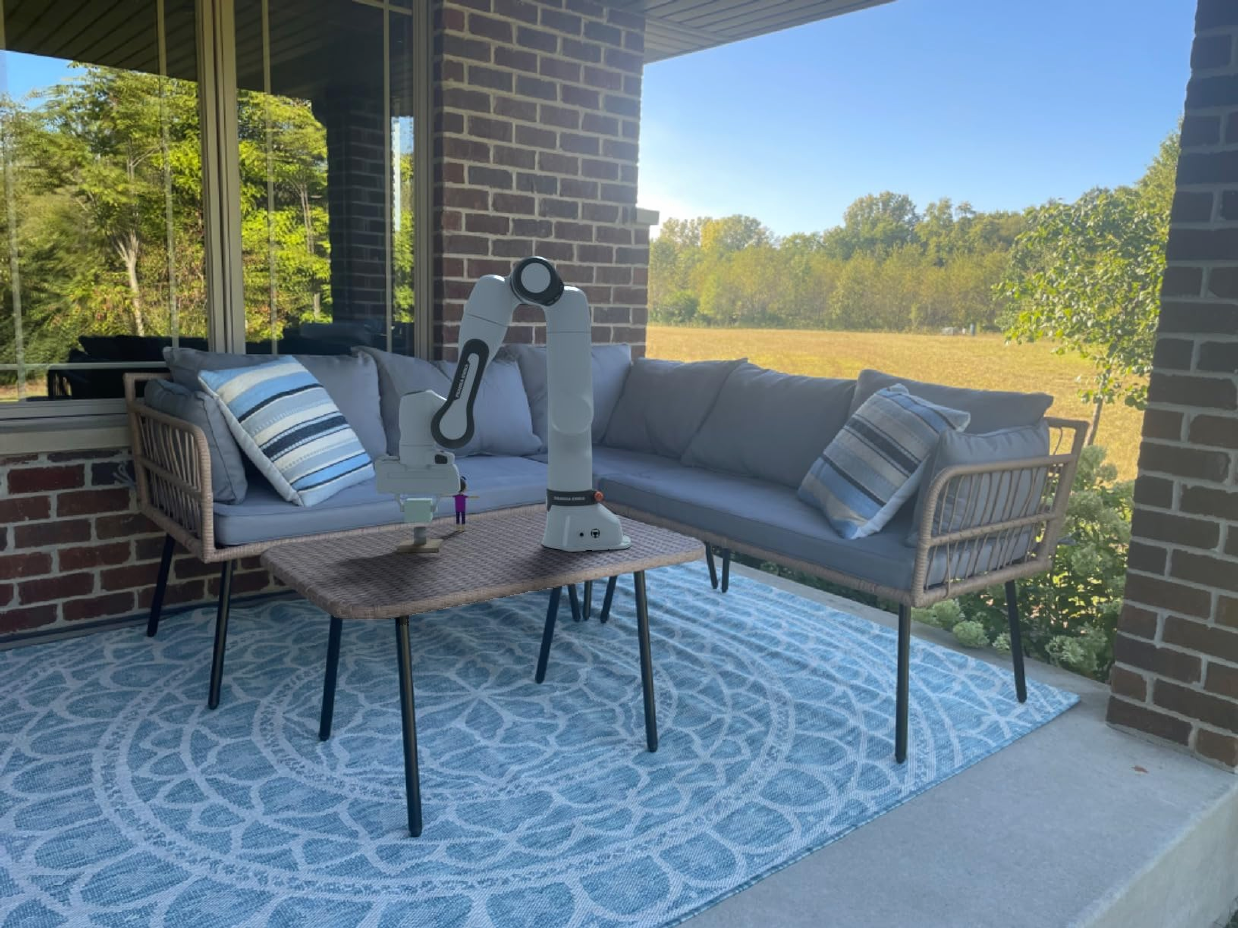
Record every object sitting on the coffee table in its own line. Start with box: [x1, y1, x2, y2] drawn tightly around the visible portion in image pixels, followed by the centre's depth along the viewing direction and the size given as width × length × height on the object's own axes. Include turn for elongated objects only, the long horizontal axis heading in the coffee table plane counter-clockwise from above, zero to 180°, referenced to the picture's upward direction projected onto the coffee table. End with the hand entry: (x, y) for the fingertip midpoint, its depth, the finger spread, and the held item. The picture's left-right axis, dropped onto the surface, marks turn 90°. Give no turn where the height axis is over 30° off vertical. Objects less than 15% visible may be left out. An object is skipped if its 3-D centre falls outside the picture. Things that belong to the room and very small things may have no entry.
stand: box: [396, 526, 444, 553], centre depth 220 cm, size 10×10×5 cm
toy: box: [442, 475, 480, 532], centre depth 239 cm, size 10×6×15 cm, turn 82°
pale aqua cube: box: [403, 497, 434, 524], centre depth 219 cm, size 6×6×5 cm
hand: (418, 511), depth 219 cm, fingers closed on pale aqua cube, 6 cm apart
